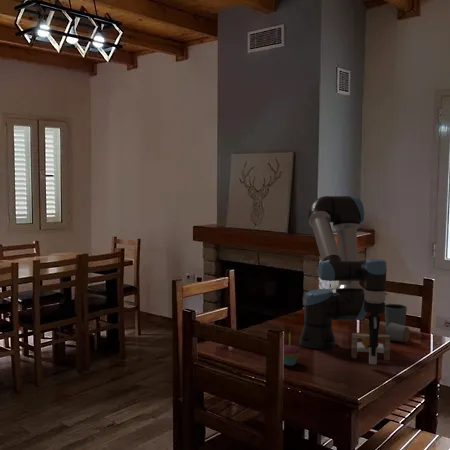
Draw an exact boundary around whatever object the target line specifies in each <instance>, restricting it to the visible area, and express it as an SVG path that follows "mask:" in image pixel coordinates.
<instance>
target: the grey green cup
mask: <svg viewBox="0 0 450 450" xmlns="http://www.w3.org/2000/svg"><path fill="white" fill-rule="evenodd" d="M407 309H408V307H407V306H406V305H404V304H397V303H388V304H385V312H384V316H385V317H384V321H385V332H387V328H388V325H389V324H390V323H395V324H399V325H403V326H406V325H405V324H406V320H407V319H406V318H407Z"/></svg>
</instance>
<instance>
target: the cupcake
mask: <svg viewBox="0 0 450 450" xmlns="http://www.w3.org/2000/svg"><path fill="white" fill-rule="evenodd" d="M291 335H292V334H291V331H289V333H288V344H284V345H283V346H284V364H285V365H286V366H289V367H290V366H291V367H292V366H295V365H296V362H297V360H298V358H299V357H300V356H301V354H302V351H301V349H300V348H299V347H298V346H296V345H294V344H291V340H292V339H291V337H292V336H291ZM284 364H283V365H284Z"/></svg>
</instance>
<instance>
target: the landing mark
mask: <svg viewBox="0 0 450 450" xmlns="http://www.w3.org/2000/svg"><path fill="white" fill-rule="evenodd" d="M378 344H379V346H378V347H377V354H384V343H378ZM357 352H358V353H359V352H362V353H369V348H366V347H364V346H363V344H362V341H357Z"/></svg>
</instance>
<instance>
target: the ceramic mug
mask: <svg viewBox="0 0 450 450" xmlns="http://www.w3.org/2000/svg"><path fill="white" fill-rule="evenodd" d="M410 330H411V329H410V327H408V326H406V325H405V326H403V325H399V324H395V323H390V324H389V325H388V328H387V331H386V335H390V341H393V342H397V343H398V342H399V343H406V342H408V341H409V338H410V332H411V331H410Z"/></svg>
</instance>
